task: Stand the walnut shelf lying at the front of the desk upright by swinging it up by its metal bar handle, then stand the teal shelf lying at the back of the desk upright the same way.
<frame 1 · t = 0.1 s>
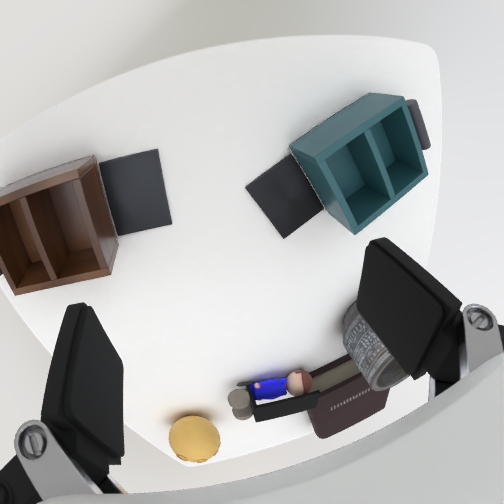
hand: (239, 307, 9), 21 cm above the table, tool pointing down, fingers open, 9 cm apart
planter: (363, 311, 46), on the table
book: (342, 387, 59), on the table, touching figurine character
dark grey flat plate: (308, 182, 31), on the table
figurine character: (267, 380, 49), on the table, touching book
walnut shelf: (35, 230, 22), point 3 cm above the table, hinge at 0.0°
teal shelf: (375, 151, 28), point 3 cm above the table, hinge at 0.0°
stress ball: (190, 417, 50), on the table
charcoal rectangular slab: (108, 200, 26), on the table
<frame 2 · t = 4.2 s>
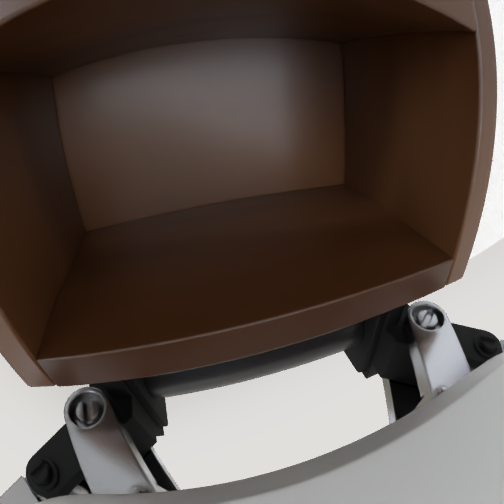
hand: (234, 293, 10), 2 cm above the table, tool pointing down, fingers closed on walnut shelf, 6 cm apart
walnut shelf: (217, 74, 5), point 3 cm above the table, hinge at 0.0°, touching gripper
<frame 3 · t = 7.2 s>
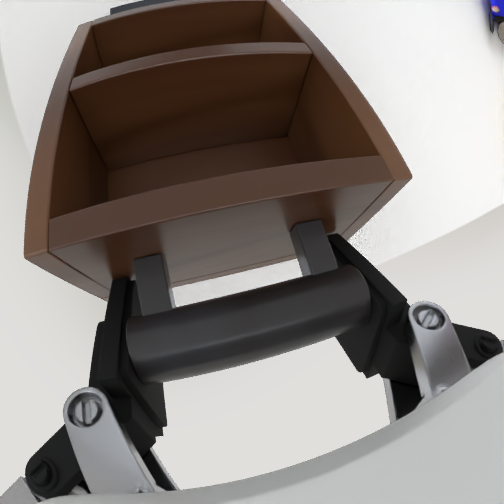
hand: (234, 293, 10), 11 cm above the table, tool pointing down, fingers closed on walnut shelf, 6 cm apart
figurine character: (488, 1, 14), on the table, touching book
walnut shelf: (201, 139, 10), point 8 cm above the table, hinge at 49.5°, touching gripper
charcoal rectangular slab: (181, 76, 15), on the table
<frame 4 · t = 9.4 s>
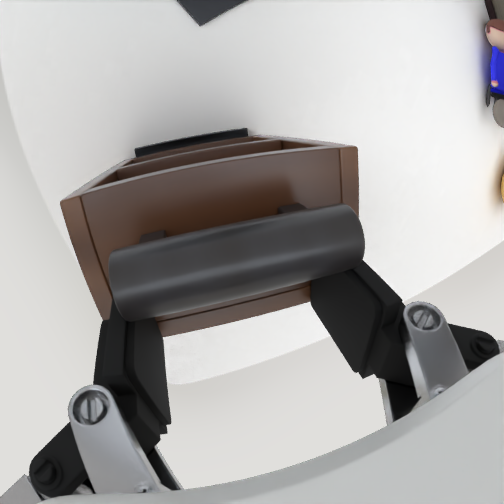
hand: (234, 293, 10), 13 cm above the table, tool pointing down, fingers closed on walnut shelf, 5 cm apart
figurine character: (489, 68, 21), on the table, touching book
walnut shelf: (211, 214, 13), point 8 cm above the table, hinge at 96.4°, touching gripper, charcoal rectangular slab
stress ball: (503, 178, 31), on the table
charcoal rectangular slab: (203, 213, 22), on the table
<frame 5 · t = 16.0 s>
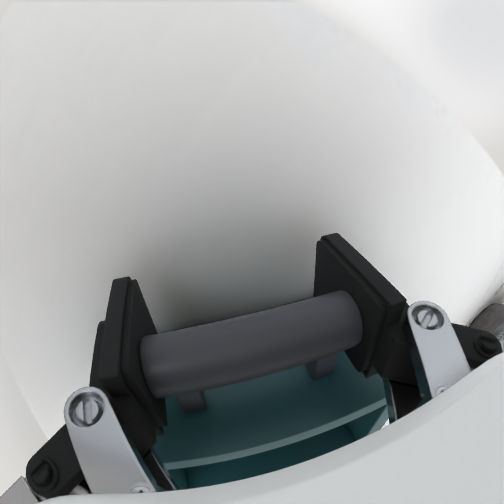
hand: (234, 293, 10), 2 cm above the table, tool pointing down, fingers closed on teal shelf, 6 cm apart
planter: (474, 331, 25), on the table
teal shelf: (259, 419, 12), point 3 cm above the table, hinge at 0.0°, touching gripper
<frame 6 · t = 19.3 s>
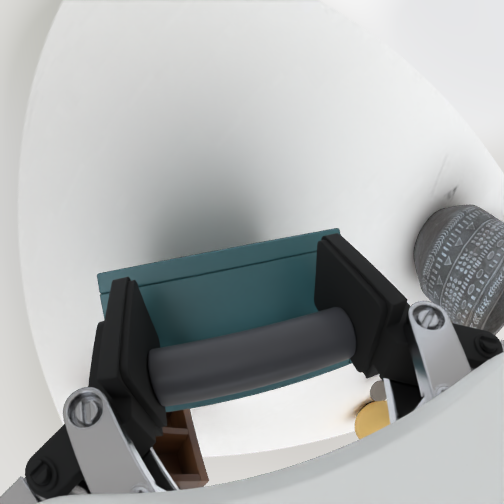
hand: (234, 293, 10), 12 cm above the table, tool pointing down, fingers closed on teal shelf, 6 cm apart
planter: (435, 238, 30), on the table
figurine character: (399, 350, 41), on the table, touching book
walnut shelf: (144, 453, 22), point 8 cm above the table, hinge at 96.2°
teal shelf: (227, 316, 15), point 8 cm above the table, hinge at 51.7°, touching gripper
stress ball: (367, 404, 50), on the table
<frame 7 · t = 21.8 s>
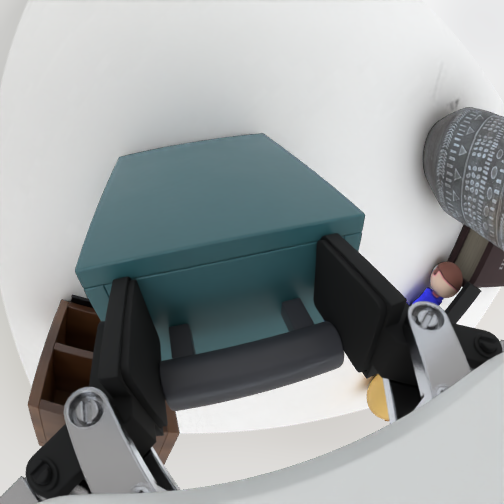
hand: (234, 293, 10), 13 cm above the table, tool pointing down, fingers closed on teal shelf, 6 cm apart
planter: (444, 153, 25), on the table
book: (498, 225, 36), on the table, touching figurine character
figurine character: (415, 298, 36), on the table, touching book
walnut shelf: (102, 397, 18), point 8 cm above the table, hinge at 96.2°
teal shelf: (213, 239, 14), point 8 cm above the table, hinge at 95.8°, touching gripper
stress ball: (379, 373, 46), on the table
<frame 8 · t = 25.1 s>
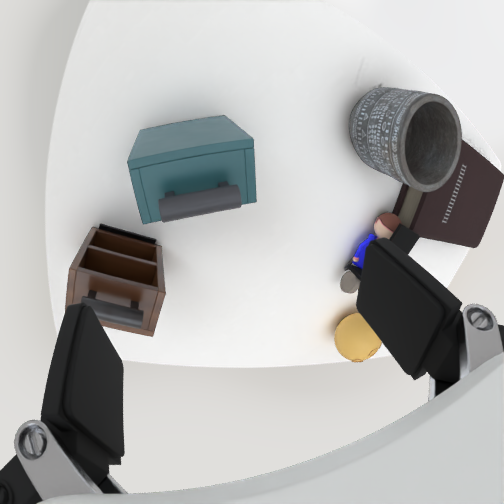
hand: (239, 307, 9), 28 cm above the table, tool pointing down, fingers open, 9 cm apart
planter: (370, 125, 37), on the table
book: (446, 190, 48), on the table, touching figurine character
figurine character: (365, 245, 48), on the table, touching book
walnut shelf: (116, 283, 30), point 8 cm above the table, hinge at 96.2°
teal shelf: (190, 164, 26), point 8 cm above the table, hinge at 96.0°
stress ball: (346, 320, 57), on the table
charcoal rectangular slab: (118, 268, 38), on the table
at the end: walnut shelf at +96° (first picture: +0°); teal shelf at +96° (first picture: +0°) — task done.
